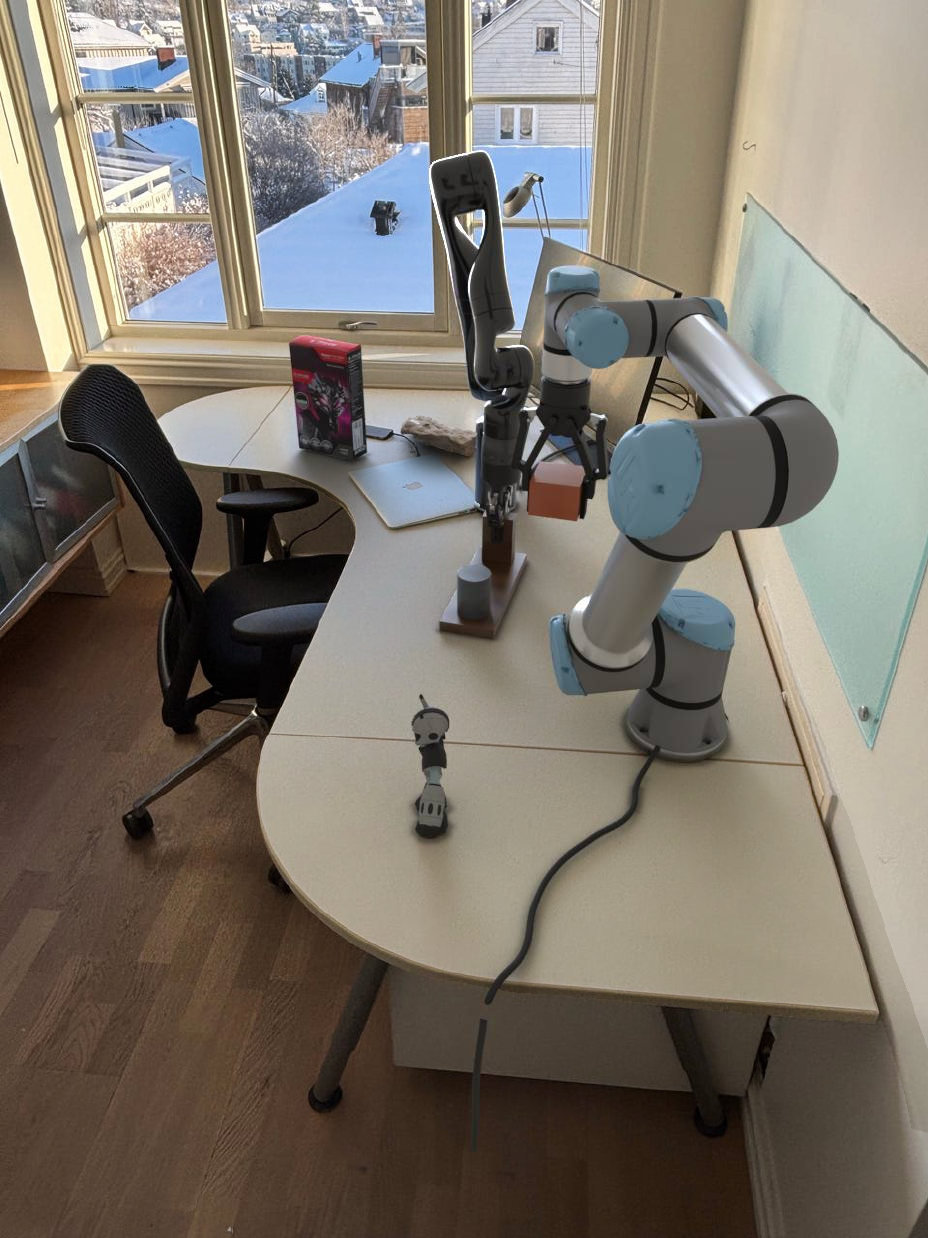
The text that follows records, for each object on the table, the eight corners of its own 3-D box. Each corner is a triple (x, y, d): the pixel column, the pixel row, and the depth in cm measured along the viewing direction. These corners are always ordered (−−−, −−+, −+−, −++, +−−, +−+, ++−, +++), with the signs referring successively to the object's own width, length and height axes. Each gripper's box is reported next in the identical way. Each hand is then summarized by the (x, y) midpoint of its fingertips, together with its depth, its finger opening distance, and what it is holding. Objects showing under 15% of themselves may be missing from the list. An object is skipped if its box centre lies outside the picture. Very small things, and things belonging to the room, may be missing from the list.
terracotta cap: (577, 521, 146) (580, 487, 143) (527, 515, 148) (529, 481, 145) (585, 499, 153) (588, 466, 149) (537, 493, 155) (539, 460, 151)
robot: (452, 871, 119) (452, 756, 108) (414, 872, 119) (410, 757, 108) (447, 767, 136) (446, 657, 124) (413, 768, 135) (410, 658, 124)
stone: (384, 439, 228) (389, 416, 226) (404, 431, 242) (409, 408, 239) (464, 464, 225) (469, 440, 222) (479, 454, 238) (485, 431, 236)
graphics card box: (296, 449, 231) (285, 340, 216) (313, 439, 236) (303, 333, 221) (353, 463, 224) (346, 352, 209) (369, 453, 229) (363, 343, 214)
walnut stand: (493, 639, 163) (495, 581, 157) (439, 630, 165) (438, 573, 159) (526, 562, 186) (529, 508, 179) (478, 555, 188) (479, 502, 181)
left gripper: (512, 473, 164) (509, 557, 173) (529, 443, 175) (525, 523, 184) (472, 468, 165) (470, 552, 175) (491, 438, 176) (488, 518, 186)
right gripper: (638, 374, 139) (623, 509, 152) (504, 361, 143) (499, 494, 156) (633, 391, 133) (617, 530, 146) (492, 377, 137) (489, 513, 150)
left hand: (498, 537), depth 180 cm, fingers closed on walnut stand, 3 cm apart
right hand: (556, 511), depth 151 cm, fingers closed on terracotta cap, 8 cm apart
